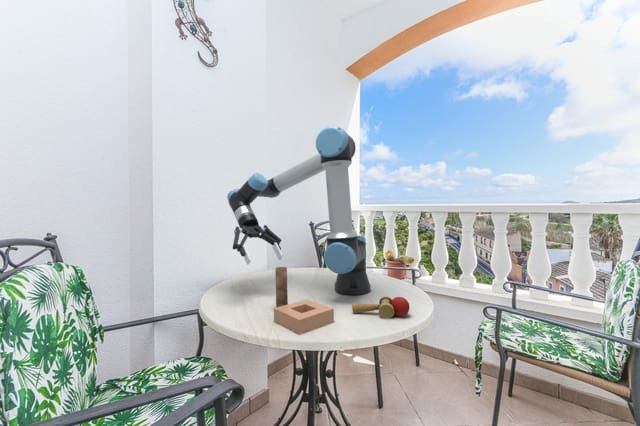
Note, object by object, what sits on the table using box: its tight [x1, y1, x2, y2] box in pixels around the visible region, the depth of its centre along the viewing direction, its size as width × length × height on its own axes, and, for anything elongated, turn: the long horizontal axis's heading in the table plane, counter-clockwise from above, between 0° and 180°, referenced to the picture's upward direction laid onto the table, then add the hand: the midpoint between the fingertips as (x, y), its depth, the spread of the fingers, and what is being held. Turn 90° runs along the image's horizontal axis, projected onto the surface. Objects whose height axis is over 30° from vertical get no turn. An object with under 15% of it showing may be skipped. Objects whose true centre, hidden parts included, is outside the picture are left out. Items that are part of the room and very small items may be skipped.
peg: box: [275, 266, 289, 308], centre depth 101 cm, size 4×4×14 cm
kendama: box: [351, 295, 410, 319], centre depth 93 cm, size 8×6×18 cm
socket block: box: [273, 299, 335, 335], centre depth 88 cm, size 13×13×4 cm
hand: (265, 259), depth 109 cm, fingers open, 13 cm apart
